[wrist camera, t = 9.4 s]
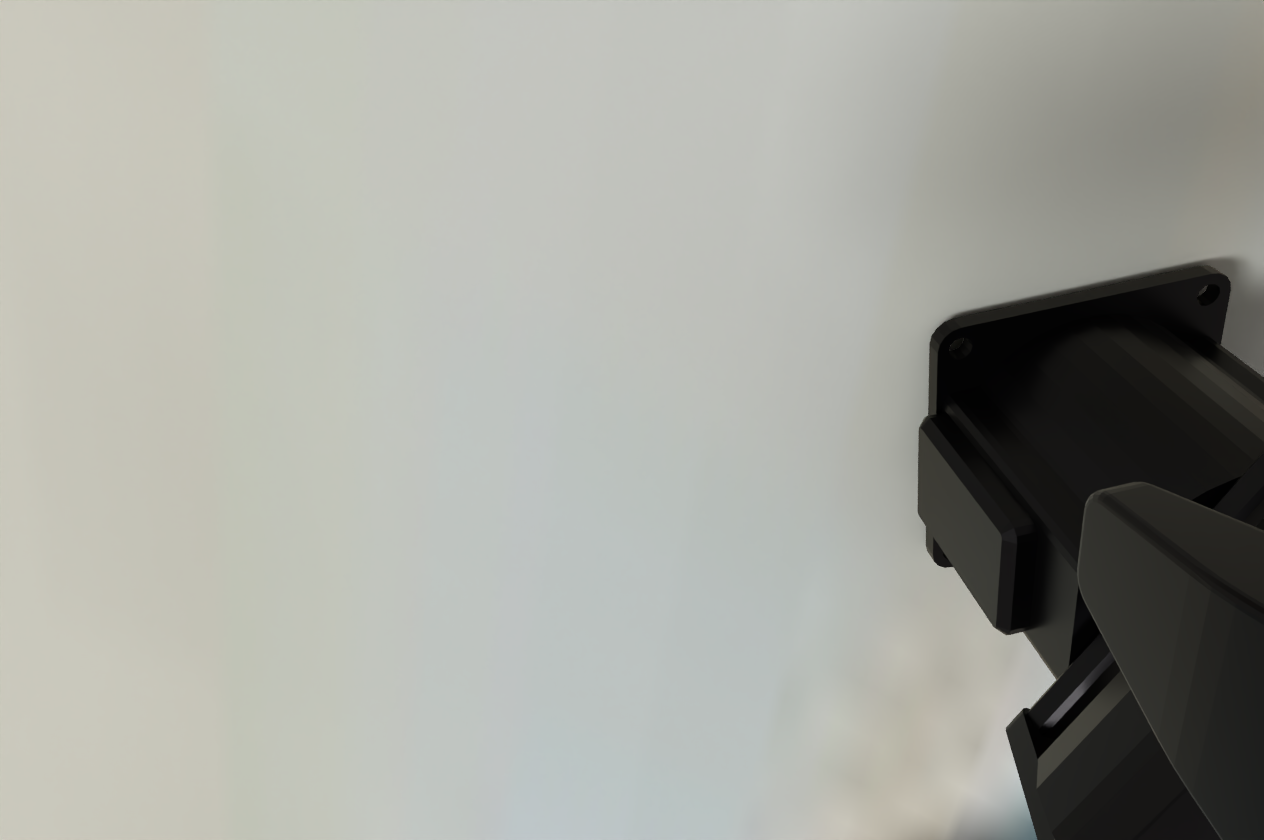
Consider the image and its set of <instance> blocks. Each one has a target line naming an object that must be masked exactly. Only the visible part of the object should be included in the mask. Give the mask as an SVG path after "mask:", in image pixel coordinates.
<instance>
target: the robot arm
mask: <svg viewBox="0 0 1264 840" xmlns="http://www.w3.org/2000/svg"><path fill="white" fill-rule="evenodd" d="M1207 285H1208V286H1207ZM1205 286H1207V289H1206V291H1205V292H1204V293H1203V294H1202V295H1200V296H1198V294H1199V292H1200V291H1201V290H1202V289H1203V288H1204V287H1205ZM1230 291H1231V284H1230V281H1229V279H1228V277H1227V276H1225V275H1224V274H1222V273H1221V272H1219V271H1218V270H1216V269H1215V268H1213V267H1211V266H1197V267H1192V268H1188V269H1183V270H1178V271H1174V272H1169V273H1164V274H1160V275H1155V276H1150V277H1146V278H1141V279H1136V280H1132V281H1127V282H1122V283H1118V284H1113V285H1108V286H1104V287H1099V288H1094V289H1090V290H1085V291H1080V292H1076V293H1071V294H1067V295H1062V296H1057V297H1053V298H1048V299H1043V300H1039V301H1034V302H1029V303H1025V304H1020V305H1015V306H1011V307H1006V308H1001V309H997V310H992V311H987V312H983V313H978V314H973V315H969V316H964V317H959V318H955V319H951V320H949V321H946V322H944V323H943V324H942V325H940V326H939V327H938V328H937V329H936V330H935V332H934V333H933V335H932V337H931V341H930V353H929V407H928V416H926V417H925V418H924V420H923V422H922V423H921V425H920V427H919V452H918V514H919V516H920V518H921V519H922V521H923V522H924V524H925V525H926V547H927V551H928V553H929V554H930V556H931V557H932V559H933V560H934V562H935V563H936V564H937V565H938V566H941V567H945V568H946V567H954V568H955V570H956V571H957V573H958V574H959V576H960V577H961V579H962V580H963V582H964V583H965V585H966V586H967V588H968V589H969V591H970V592H971V594H972V595H973V597H974V598H975V600H976V601H977V603H978V604H979V606H980V607H981V609H982V610H983V612H984V613H985V615H986V616H987V618H988V619H989V621H990V622H991V624H992V625H993V627H994V628H996V629H997V630H999V631H1000V632H1002V633H1004V634H1005V635H1011V634H1015V633H1019V632H1024V634H1025V635H1026V637H1027V638H1028V640H1029V641H1030V642H1031V644H1032V645H1033V647H1034V648H1035V650H1036V651H1037V653H1038V654H1039V655H1040V657H1041V658H1042V660H1043V661H1044V663H1045V664H1046V665H1047V667H1048V668H1049V670H1050V671H1051V673H1052V674H1053V675H1054V677H1055V678H1056V681H1055V682H1054V683H1053V684H1052V685H1051V687H1050V688H1049V689H1048V690H1047V691H1046V692H1045V693H1044V694H1043V695H1042V696H1041V698H1040V699H1039V700H1038V701H1037V702H1036V703H1035V704H1034V705H1033V706H1032V708H1031V709H1028V708H1024V709H1023V710H1022V711H1021V712H1020V713H1019V714H1018V715H1017V716H1016V717H1015V718H1014V720H1013V721H1012V722H1011V723H1010V724H1009V725H1008V726H1007V727H1006V733H1007V736H1008V740H1009V743H1010V746H1011V750H1012V753H1013V757H1014V760H1015V764H1016V767H1017V770H1018V774H1019V777H1020V781H1021V784H1022V788H1023V791H1024V795H1025V798H1026V801H1027V805H1028V808H1029V812H1030V815H1031V819H1032V822H1033V826H1034V829H1035V832H1036V836H1037V839H1038V840H1264V377H1262V376H1261V375H1260V374H1258V373H1257V372H1256V371H1254V370H1253V369H1252V368H1250V367H1249V366H1248V365H1246V364H1245V363H1244V362H1242V361H1241V360H1240V359H1238V358H1237V357H1236V356H1234V355H1233V354H1232V353H1230V352H1229V351H1228V350H1226V349H1225V348H1224V347H1222V346H1221V345H1220V344H1221V339H1222V334H1223V328H1224V323H1225V318H1226V312H1227V307H1228V302H1229V296H1230ZM1197 296H1198V297H1197ZM960 338H964V339H963V342H962V344H961V345H960V346H959V347H958V348H956V349H954V350H949V349H950V345H951V344H952V343H953V342H954V341H955V340H957V339H960Z"/></svg>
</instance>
